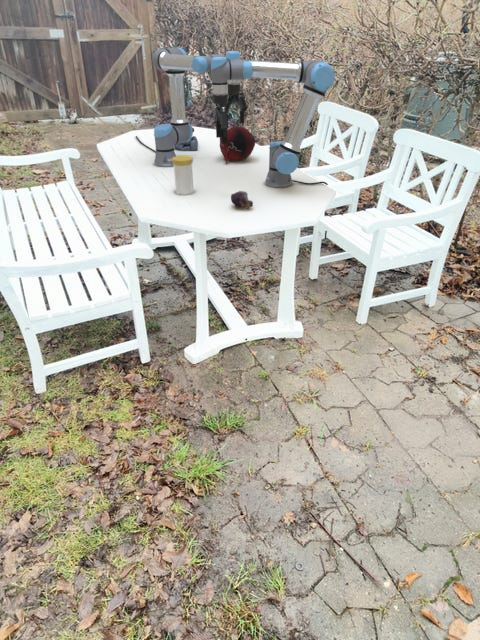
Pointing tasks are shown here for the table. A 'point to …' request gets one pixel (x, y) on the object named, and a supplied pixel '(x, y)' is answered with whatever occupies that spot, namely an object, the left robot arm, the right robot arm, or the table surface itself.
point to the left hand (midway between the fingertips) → (234, 125)
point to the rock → (241, 200)
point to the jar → (183, 179)
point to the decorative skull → (237, 144)
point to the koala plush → (188, 144)
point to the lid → (182, 160)
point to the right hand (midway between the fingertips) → (221, 140)
